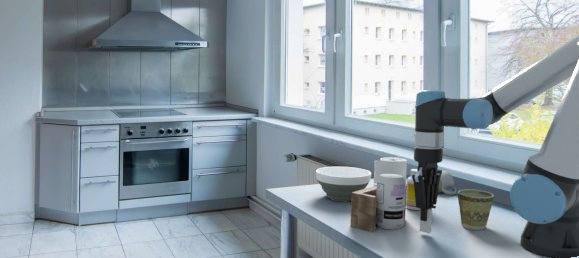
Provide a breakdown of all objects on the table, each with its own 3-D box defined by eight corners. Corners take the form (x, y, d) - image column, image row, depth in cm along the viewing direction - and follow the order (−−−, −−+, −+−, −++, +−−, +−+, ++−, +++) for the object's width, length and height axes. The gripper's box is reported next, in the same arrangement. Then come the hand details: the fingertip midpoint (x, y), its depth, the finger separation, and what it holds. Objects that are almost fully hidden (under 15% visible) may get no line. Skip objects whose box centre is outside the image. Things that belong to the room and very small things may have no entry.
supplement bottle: (426, 211, 161) (429, 172, 159) (405, 210, 162) (407, 171, 160) (425, 206, 167) (427, 168, 166) (405, 205, 168) (407, 167, 167)
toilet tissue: (410, 183, 201) (411, 159, 200) (395, 188, 193) (396, 163, 191) (387, 179, 209) (388, 156, 207) (372, 184, 200) (373, 159, 199)
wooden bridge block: (405, 219, 152) (406, 187, 150) (372, 232, 138) (373, 197, 137) (384, 214, 157) (385, 183, 156) (350, 226, 144) (351, 192, 142)
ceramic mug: (424, 191, 189) (425, 171, 188) (436, 188, 195) (437, 169, 194) (448, 197, 181) (450, 176, 180) (460, 194, 187) (462, 174, 186)
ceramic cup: (478, 234, 139) (481, 199, 138) (448, 224, 147) (450, 191, 146) (504, 226, 147) (506, 193, 145) (474, 218, 155) (476, 186, 153)
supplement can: (382, 219, 150) (384, 171, 149) (408, 225, 146) (410, 175, 144) (370, 226, 144) (372, 175, 142) (397, 232, 139) (399, 179, 137)
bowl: (312, 191, 186) (313, 166, 184) (364, 191, 186) (365, 166, 185) (317, 205, 166) (318, 177, 165) (375, 205, 167) (376, 177, 166)
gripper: (427, 143, 142) (424, 223, 145) (403, 147, 133) (401, 233, 135) (452, 146, 137) (448, 229, 139) (429, 150, 128) (426, 239, 130)
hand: (425, 231), depth 137 cm, fingers closed
